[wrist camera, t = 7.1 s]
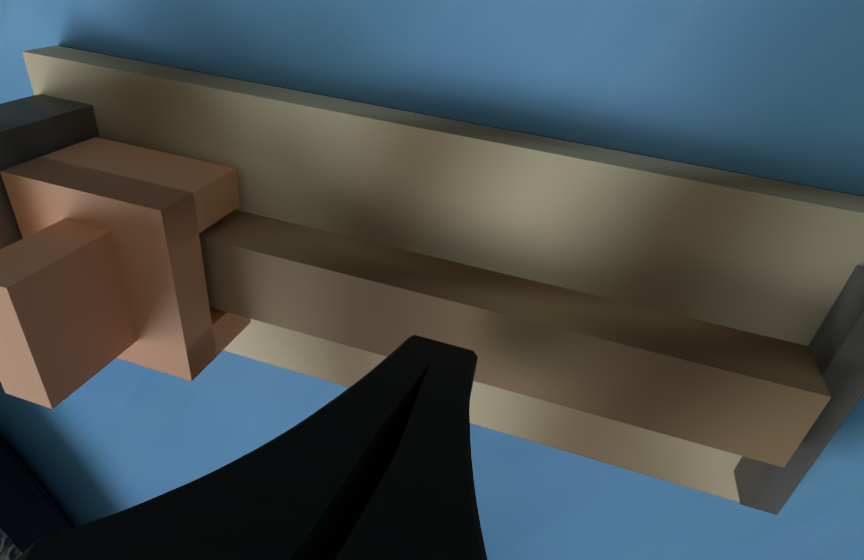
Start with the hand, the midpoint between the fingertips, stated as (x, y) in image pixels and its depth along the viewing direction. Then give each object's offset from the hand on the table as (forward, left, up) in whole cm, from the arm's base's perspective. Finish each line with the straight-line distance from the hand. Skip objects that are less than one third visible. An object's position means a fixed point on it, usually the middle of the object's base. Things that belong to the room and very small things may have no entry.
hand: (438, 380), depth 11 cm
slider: (+8, 0, -3) cm, 9 cm away
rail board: (+2, 0, -4) cm, 4 cm away
